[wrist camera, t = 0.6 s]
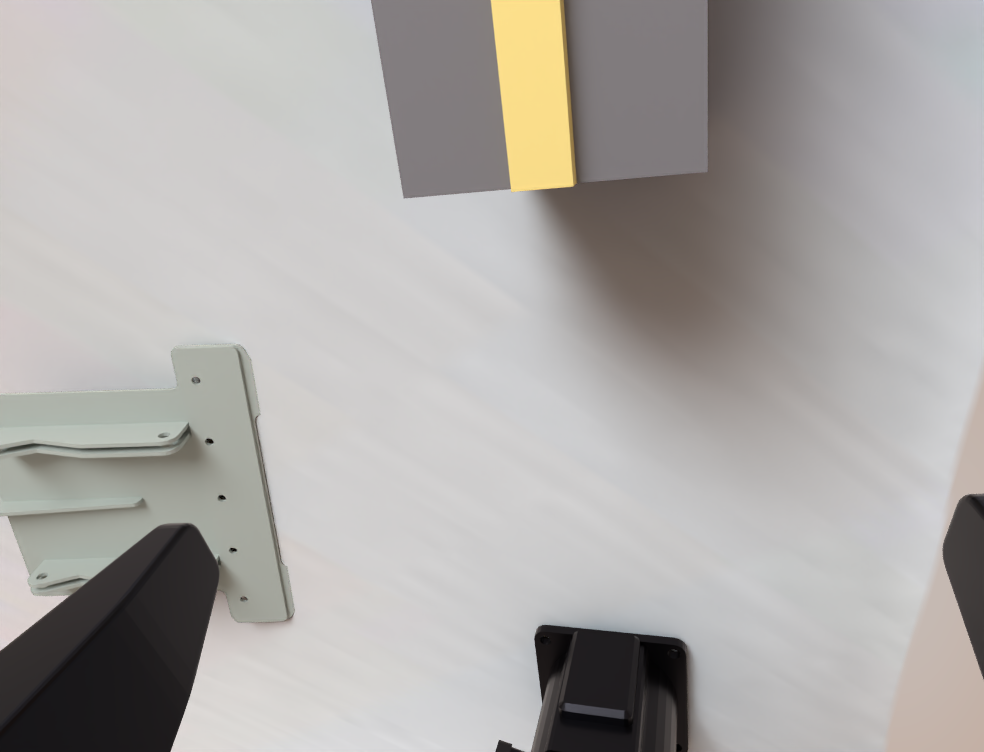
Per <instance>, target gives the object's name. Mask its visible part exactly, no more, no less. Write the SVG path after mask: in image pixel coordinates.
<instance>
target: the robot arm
mask: <svg viewBox="0 0 984 752" xmlns="http://www.w3.org/2000/svg"><path fill="white" fill-rule="evenodd" d="M943 560H944V564H945V568H946V571H947V574H948V576H949V579H950V582H951V585H952V588H953V591H954V594H955V597H956V600H957V603H958V606H959V609H960V612H961V614H962V617H963V620H964V623H965V626H966V629H967V632H968V635H969V638H970V641H971V644H972V647H973V650H974V653H975V656H976V659H977V661H978V664H979V667H980V670H981V673H982V676H983V679H984V494H969V495H965V496H964V497H963V498H961V499H960V500H959V502H958V504H957V507H956V509H955V512H954V515H953V518H952V520H951V524H950V526H949V529H948V532H947V534H946V537H945V540H944V543H943ZM219 576H220V572H219V566H218V562H217V560H216V558H215V557H214V555H213V553H212V551H211V550H210V548H209V546H208V545H207V543H206V541H205V539H204V538H203V536H202V534H201V532H200V531H199V529H198V528H197V527H196V526H195V525H193V524H192V523H167V524H162V525H159V526H157V527H156V528H155V529H153V530H152V531H151V532H149V533H148V534H147V535H146V536H144V537H143V538H142V539H141V540H139V541H138V542H137V543H135V544H134V545H133V546H132V547H130V548H129V549H128V550H127V551H125V552H124V553H123V554H122V555H120V556H119V557H118V558H117V559H115V560H114V561H113V562H112V563H110V564H109V565H108V566H107V567H105V568H104V569H103V570H102V571H100V572H99V573H98V574H97V575H95V576H94V577H93V578H91V579H90V580H89V581H88V582H86V583H85V584H84V585H83V586H81V587H80V588H79V589H78V590H76V591H75V592H74V593H73V594H71V595H70V596H69V597H68V598H66V599H65V600H64V601H63V602H61V603H60V604H59V605H58V606H56V607H55V608H54V609H53V610H51V611H50V612H49V613H48V614H46V615H45V616H44V617H42V618H41V619H40V620H39V621H37V622H36V623H35V624H34V625H32V626H31V627H30V628H29V629H27V630H26V631H25V632H24V633H22V634H21V635H20V636H19V637H17V638H16V639H15V640H14V641H12V642H11V643H10V644H9V645H7V646H6V647H5V648H4V649H2V650H1V651H0V752H170V751H171V749H172V746H173V743H174V740H175V737H176V735H177V732H178V729H179V726H180V723H181V721H182V718H183V715H184V712H185V709H186V706H187V703H188V700H189V697H190V694H191V690H192V687H193V683H194V680H195V676H196V672H197V668H198V664H199V660H200V656H201V652H202V648H203V644H204V640H205V636H206V632H207V628H208V624H209V620H210V616H211V612H212V608H213V604H214V600H215V596H216V592H217V588H218V584H219ZM544 636H547V637H549V638H545V637H544ZM534 640H535V648H536V656H537V664H538V672H539V680H540V688H541V696H542V708H541V712H540V716H539V721H538V725H537V729H536V733H535V737H534V741H533V745H532V750H531V752H687V751H688V711H687V650H686V645H685V643H684V642H683V641H681V640H680V639H677V638H671V637H661V636H651V635H641V634H631V633H621V632H611V631H601V630H591V629H581V628H571V627H561V626H551V625H542V626H539V627H538V628H537V630H536V634H535V639H534ZM671 649H675V650H677V651H676V652H674V651H671ZM496 752H524V751H521V750H518V749H516V748H513V747H512V744H510V743H507V742H504V741H501V740H499V742H498V745H497V749H496Z"/></svg>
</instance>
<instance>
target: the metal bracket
mask: <svg viewBox="0 0 984 752" xmlns="http://www.w3.org/2000/svg"><path fill="white" fill-rule="evenodd" d="M171 358H172V362H173V366H174V371H175V375H176V379H177V387H175V388H167V389H135V390H102V391H70V392H37V393H5V394H0V516H8V518H9V521H10V524H11V527H12V529H13V532H14V535H15V537H16V540H17V543H18V545H19V548H20V551H21V553H22V556H23V559H24V561H25V564H26V567H27V569H28V572H29V575H30V577H29V578H28V584H29V586H30V587H31V592H32V594H33V595H35V596H65V595H71V594H73V593H74V592H75V591H76V590H78V589H79V588H80V587H81V586H83V585H84V584H85V583H86V582H88V581H89V580H90V579H91V578H93V577H94V576H95V575H97V574H98V573H99V572H100V571H102V570H103V569H104V568H105V567H107V566H108V565H109V564H110V563H112V562H113V561H114V560H115V559H117V558H118V557H119V556H120V555H122V554H123V553H124V552H125V551H127V550H128V549H129V548H130V547H132V546H133V545H134V544H135V543H137V542H138V541H139V540H141V539H142V538H143V537H144V536H146V535H147V534H148V533H149V532H151V531H152V530H153V529H155V528H156V527H157V526H159V525H162V524H167V523H192V524H193V525H195V526H196V527H197V528H198V529H199V531H200V532H201V534H202V536H203V538H204V539H205V541H206V543H207V545H208V546H209V548H210V550H211V551H212V553H213V555H214V557H215V558H216V560H217V562H218V566H219V572H220V576H219V584H218V588H217V590H219V591H223V592H224V593H225V594H226V596H227V600H228V605H229V609H230V613H231V616H232V618H233V619H234V620H235V621H236V622H239V623H250V622H279V621H285V620H286V619H288V618H290V617H292V615H293V613H294V611H295V609H294V603H293V598H292V592H291V586H290V580H289V575H288V569H287V566H285V565H284V564H283V563H282V561H281V558H280V553H279V547H278V542H277V536H276V531H275V526H274V520H273V515H272V509H271V504H270V498H269V493H268V488H267V482H266V477H265V471H264V466H263V460H262V455H261V450H260V444H259V439H258V433H257V428H256V422H255V418H256V417H257V416H258V415H261V414H260V409H259V403H258V397H257V391H256V386H255V380H254V374H253V368H252V363H251V359H250V357H249V356H248V354H247V353H246V351H245V350H244V348H243V347H242V346H240V345H238V344H214V345H181V346H176V347H174V348H173V350H172V351H171ZM193 377H198V378H199V379H200V383H196V382H194V380H193ZM207 438H210V439H212V440H213V441H214V443H213V444H210V443H208V442H207V440H206V439H207ZM219 495H223V496H225V498H226V499H225V500H222V499H220V498H219ZM230 548H235V549H237V551H236V552H234V551H232V550H231V549H230ZM241 597H246V598H247V600H243V599H242V598H241Z"/></svg>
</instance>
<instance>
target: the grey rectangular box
mask: <svg viewBox="0 0 984 752" xmlns="http://www.w3.org/2000/svg"><path fill="white" fill-rule="evenodd" d="M371 3H372V9H373V15H374V21H375V27H376V33H377V39H378V45H379V52H380V58H381V64H382V70H383V76H384V82H385V88H386V94H387V100H388V106H389V112H390V118H391V124H392V130H393V136H394V142H395V148H396V154H397V160H398V166H399V172H400V178H401V184H402V190H403V196H404V198H413V197H425V196H436V195H448V194H459V193H471V192H482V191H494V190H505V189H511V192H515V191H527V190H539V189H550V188H562V187H573V186H574V185H575V184H576V183H586V182H597V181H609V180H620V179H632V178H643V177H655V176H666V175H678V174H689V173H700V172H708V0H371Z"/></svg>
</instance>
